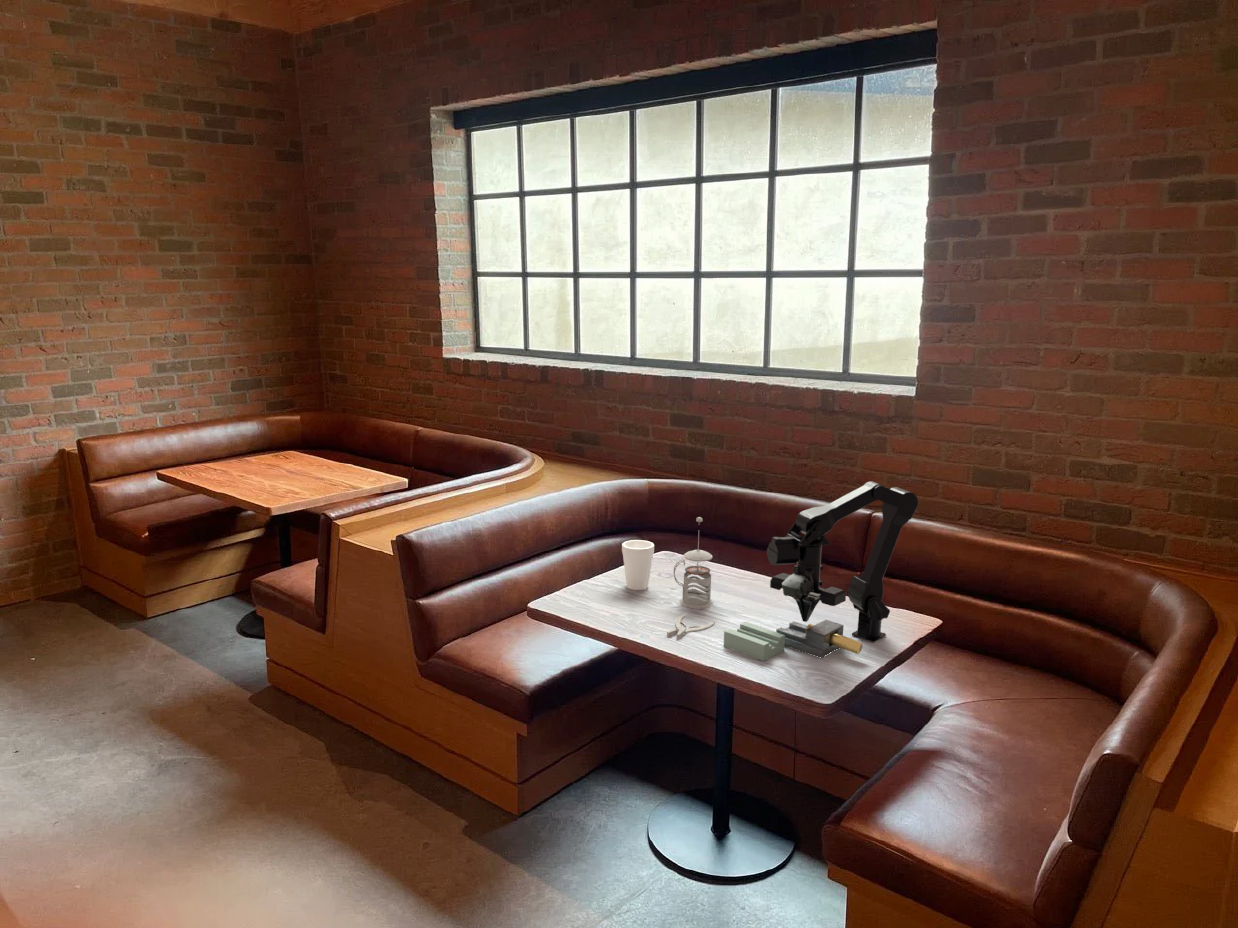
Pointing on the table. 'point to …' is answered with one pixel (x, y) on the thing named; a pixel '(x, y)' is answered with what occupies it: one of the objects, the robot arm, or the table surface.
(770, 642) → the v block
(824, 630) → the grey slotted block
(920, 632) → the table surface
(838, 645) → the axle
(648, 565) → the foam cup
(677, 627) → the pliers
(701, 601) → the french press
